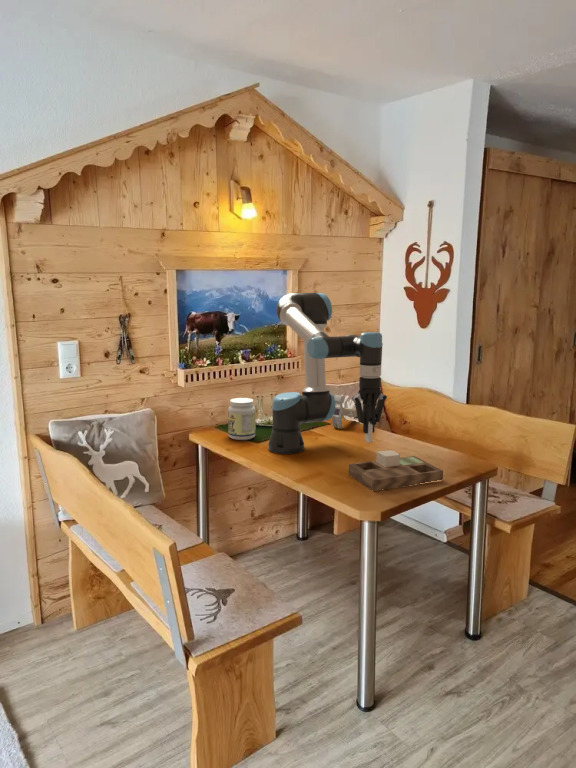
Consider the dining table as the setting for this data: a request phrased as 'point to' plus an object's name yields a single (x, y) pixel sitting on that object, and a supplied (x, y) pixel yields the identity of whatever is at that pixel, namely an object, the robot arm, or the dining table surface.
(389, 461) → the block
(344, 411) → the hammer
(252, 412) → the supplement tub
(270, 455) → the dining table surface
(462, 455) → the dining table surface
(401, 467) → the board
